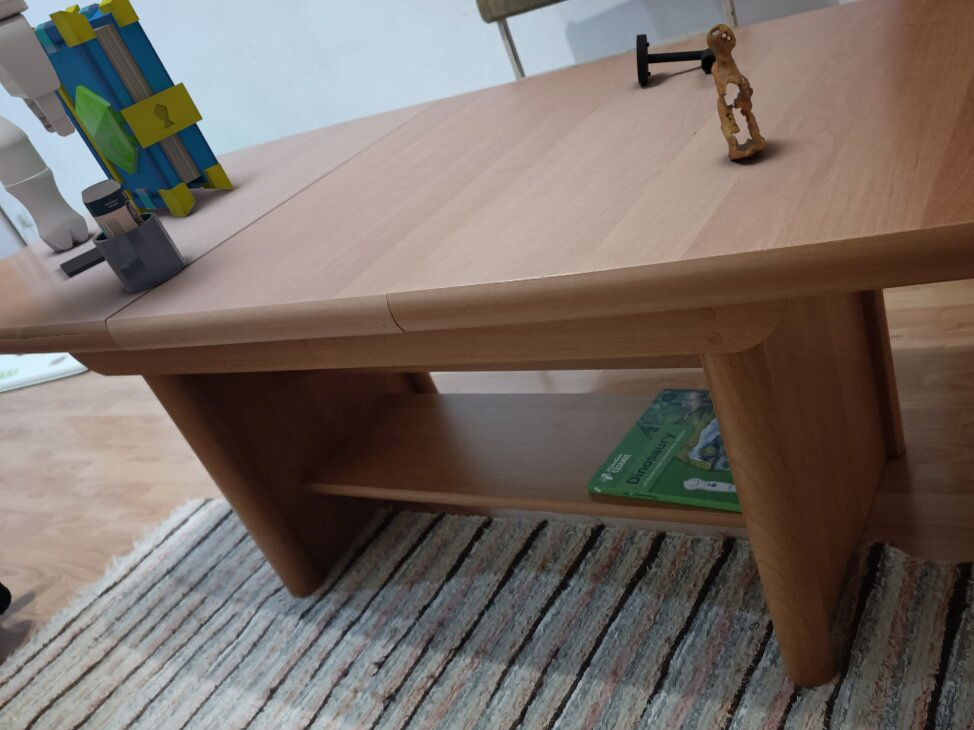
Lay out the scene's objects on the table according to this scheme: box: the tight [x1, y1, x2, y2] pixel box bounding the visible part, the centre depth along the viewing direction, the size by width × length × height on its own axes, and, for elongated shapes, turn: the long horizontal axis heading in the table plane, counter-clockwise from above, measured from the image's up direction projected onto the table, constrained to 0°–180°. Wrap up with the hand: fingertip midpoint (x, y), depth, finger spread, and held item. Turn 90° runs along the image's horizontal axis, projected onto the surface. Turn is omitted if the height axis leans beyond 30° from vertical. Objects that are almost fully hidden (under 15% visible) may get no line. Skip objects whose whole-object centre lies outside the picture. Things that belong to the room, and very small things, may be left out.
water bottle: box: [0, 114, 89, 252], centre depth 135 cm, size 7×7×25 cm
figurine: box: [706, 23, 768, 161], centre depth 80 cm, size 5×6×12 cm
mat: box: [59, 246, 105, 278], centre depth 129 cm, size 8×8×1 cm
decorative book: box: [31, 0, 235, 218], centre depth 134 cm, size 14×23×30 cm, turn 53°
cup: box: [91, 211, 187, 293], centre depth 110 cm, size 8×8×7 cm
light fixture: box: [635, 33, 716, 85], centre depth 110 cm, size 6×11×13 cm
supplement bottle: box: [80, 178, 144, 239], centre depth 108 cm, size 5×5×12 cm
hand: (62, 132), depth 101 cm, fingers open, 8 cm apart
